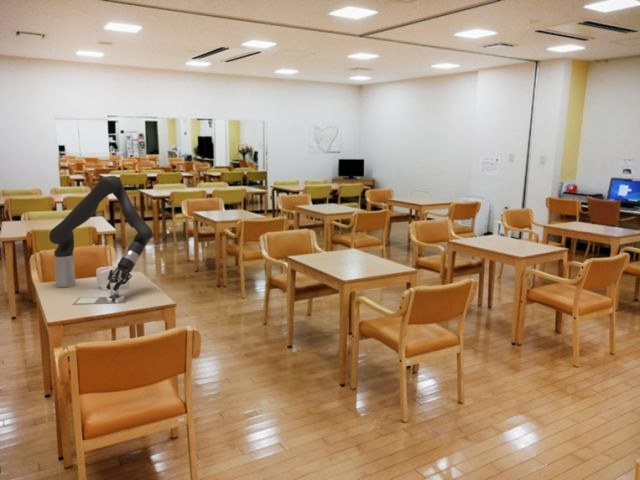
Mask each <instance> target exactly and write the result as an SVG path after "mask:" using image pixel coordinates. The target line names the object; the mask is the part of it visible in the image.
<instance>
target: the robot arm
mask: <svg viewBox="0 0 640 480" xmlns="http://www.w3.org/2000/svg"><path fill="white" fill-rule="evenodd" d="M111 194H113V195H114V197H115V198H116V199H117V201H118V204H119V206H120V211H121V214H122V216H123V218H124V219H125V221H126V222H127V224H128V225H129V226H130V227H131V228H133V229H134V230H135V231H136V234H135V236H134V238H133V241H132V242H131V244H129V246H128V248H127V249H126V251H125V252H124V253H123V255H122V257H121V258H120V260H119V261H118V263H117V265H118V267H117V269H115V270H110V273H109V276H108V280H109V283H108V285H107V287H106V288H107V289H109V291H110V279H109V278H111V277H115V276H116V277H118V281H117V283H116V284H115V286H114V288H113V290H114V291H117V290H118V288H119V287H120V285H122V284H125V283H126V282H127V281H128V280H129V281H130V280H131V278H132V277H133V275H132V274H131V272H132V270H133V269H134V268H135V266H136V264H137V262H138V261H139V258H140V257H141V255H142V254H143V251H144V248H145V247H146V246H147V243H148V242H149V241H150V240H151V239H152V237H153V235H154V234H153V230H152V228H151V227H150V226H149V225H148V223H147V222H145V221H144V220H143V218H142V217H141V215H140V214H139V212H138V211H137V210H136V208H135V207H134V204H133V203H132V201H131V200H130V197H129V195H128V193H127V191H126V189H125V187H124V185H123V183H122V181H121V179H120V178H119V177H118V176H115V175H107V176H104V177H102V178H100V179H99V180H98V181H97V182H96V184H95V185H94V186H93V188H92V189H91V190H90V192H89V193H88V194H86V196H84V198H83V199H82V200H81V201H79V202H78V204H76V205H75V207H74V208H73V209H72V210H71V211H70V212H69V213H68V214H67V215H66V217H65V218H64V219H63V220H62V221H61V222H59V223H58V224H57V225H56V226H54V227H53V228H52V229H51V230H50V232H49V235H48V236H49V241H50V242H51V243H53V245H58V246H57V247H56V249H55V250H54V253H53V254H54V263H55V265H54V267H55V269H54V279H55V280H54V281H55V282H54V283H55V287H56V288H70V287H73V286H75V285H76V273H75V262H74V249H75V235H74V230H75V229H77V228H78V227H80V226H82V225H83V224H85V223H86V222H87V221H89V220H90V219H91V217H93V216H94V215H95V213H96V212H97V211H98V208H99V205H100V203H101V202H102V201H103V200H104V199H106V197H108V196H109V195H111ZM125 279H126V280H125ZM120 280H121V281H120ZM124 280H125V281H124Z"/></svg>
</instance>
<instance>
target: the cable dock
mask: <svg viewBox="0 0 640 480" xmlns="http://www.w3.org/2000/svg"><path fill="white" fill-rule="evenodd" d="M129 298H131V295H126V296H124V295H123V294H119V297H118V298H111V294H110V295H108V296H90V297H89V296H88V297H84V296H82V297H78V299H76V301H74V303H72V304H71V305H72V306H81V305H82V306H83V305H115V304H116V305H117V304H118V305H119V304H121V305H122V304H126V303H127V301H128V300H129Z"/></svg>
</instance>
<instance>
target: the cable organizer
mask: <svg viewBox="0 0 640 480" xmlns="http://www.w3.org/2000/svg"><path fill="white" fill-rule="evenodd" d="M117 267H118V264H117V265H109V266H100V267H98V268H96V271H95V274H96V285H97V287H98V288H101V290H102V291H108V290H109V289H107V288H106V287H107V285H108V283H109V280H108V276H109V273H110V270H115V269H117ZM115 277H116V276H115ZM125 280H126V279H125ZM125 280H124V281H125ZM120 281H121V280H120ZM129 286H130V279H129V280H128V281H127V282H126V283H125V284H122V285H120V287H119V290H120V289H121V290H125V289H127V288H129ZM109 291H110V290H109Z"/></svg>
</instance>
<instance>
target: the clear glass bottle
mask: <svg viewBox="0 0 640 480" xmlns="http://www.w3.org/2000/svg"><path fill="white" fill-rule="evenodd" d="M109 279H110V290H109V292H110V295H111V298H118V297H119V295H120V289H119V288H118V290H117V291H114V290H113V288H114V286H115V284H116V283H117V281H118V277H111V278H109Z"/></svg>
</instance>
